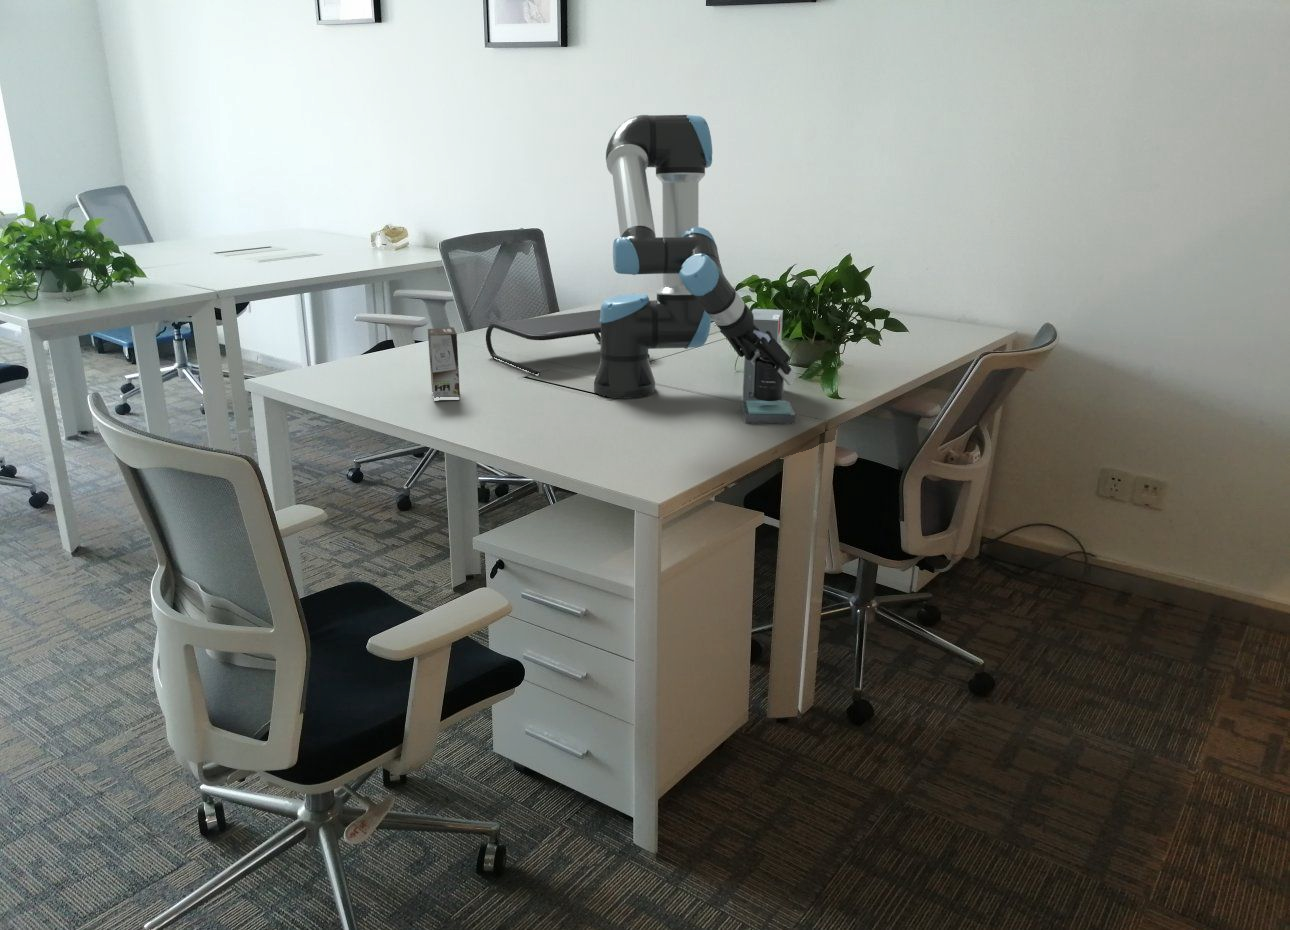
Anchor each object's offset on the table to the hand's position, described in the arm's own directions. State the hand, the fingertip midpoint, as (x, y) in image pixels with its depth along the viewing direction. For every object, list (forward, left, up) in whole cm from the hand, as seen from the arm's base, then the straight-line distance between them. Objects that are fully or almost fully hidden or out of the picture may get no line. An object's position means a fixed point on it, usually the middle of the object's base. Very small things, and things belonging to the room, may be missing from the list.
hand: (780, 376), depth 232 cm
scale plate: (-3, -2, -7) cm, 8 cm away
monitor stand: (-53, +57, -9) cm, 78 cm away
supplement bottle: (-3, -2, -5) cm, 6 cm away
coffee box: (-79, +14, -9) cm, 80 cm away
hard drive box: (-2, +17, -9) cm, 19 cm away
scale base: (-3, -2, -9) cm, 9 cm away
